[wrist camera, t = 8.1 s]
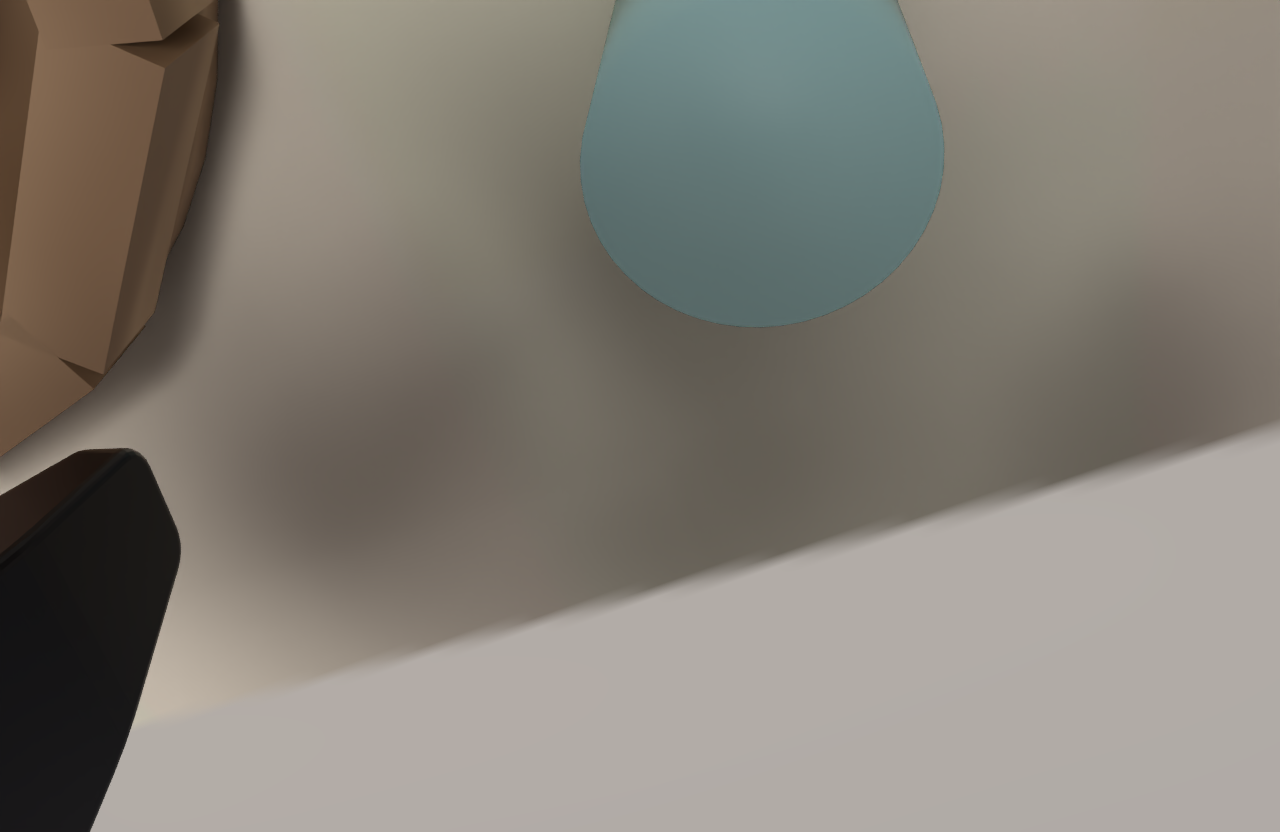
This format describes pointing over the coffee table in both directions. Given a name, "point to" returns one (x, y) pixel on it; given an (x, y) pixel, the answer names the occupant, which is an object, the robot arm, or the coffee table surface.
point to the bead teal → (760, 153)
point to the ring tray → (92, 184)
